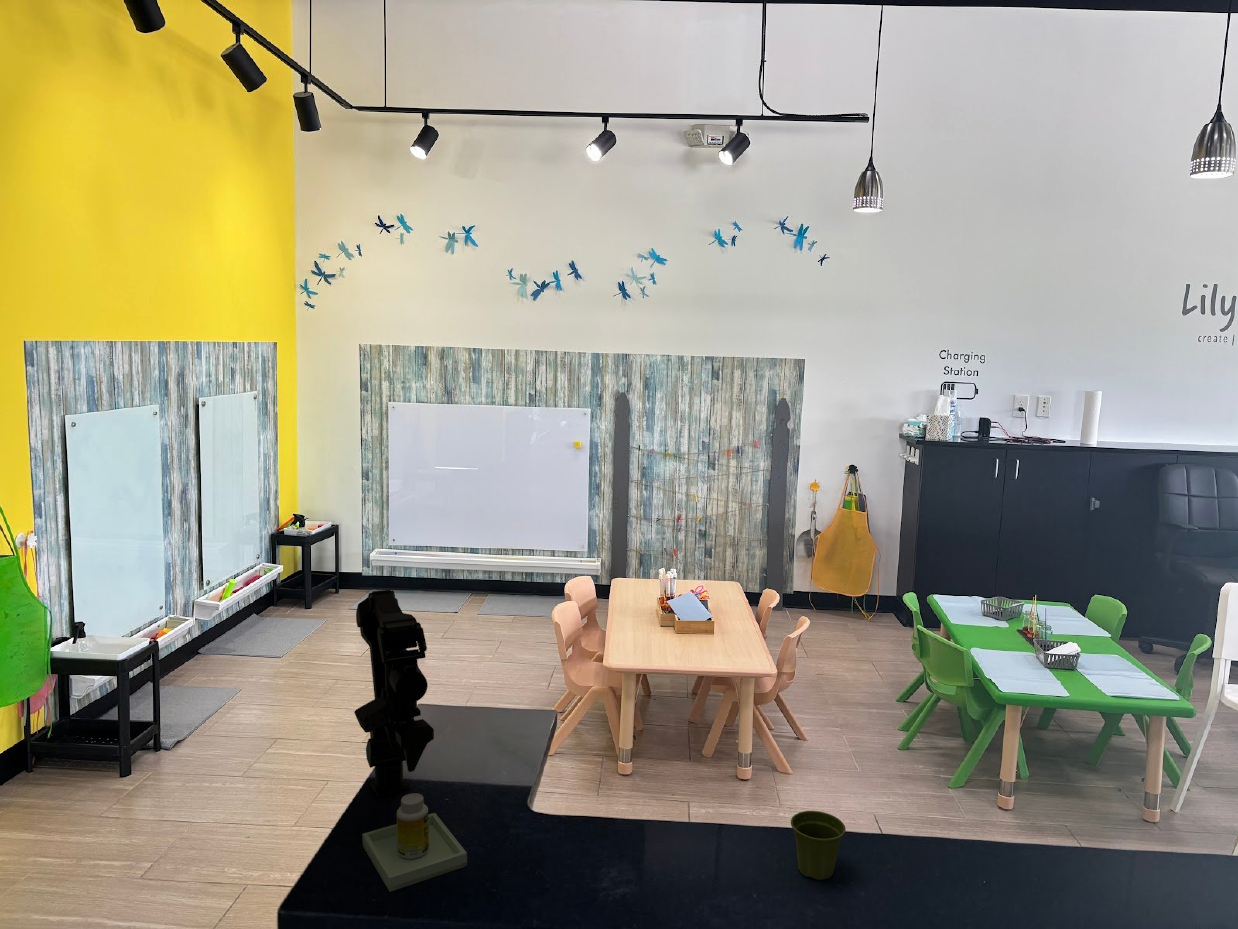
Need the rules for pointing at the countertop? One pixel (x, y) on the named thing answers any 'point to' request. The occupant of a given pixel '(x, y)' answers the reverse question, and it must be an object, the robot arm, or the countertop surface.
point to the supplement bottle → (412, 827)
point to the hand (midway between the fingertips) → (403, 761)
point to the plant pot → (817, 842)
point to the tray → (405, 872)
